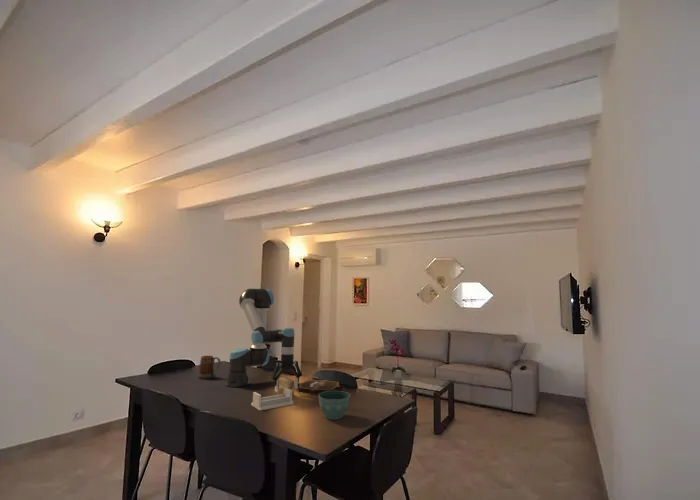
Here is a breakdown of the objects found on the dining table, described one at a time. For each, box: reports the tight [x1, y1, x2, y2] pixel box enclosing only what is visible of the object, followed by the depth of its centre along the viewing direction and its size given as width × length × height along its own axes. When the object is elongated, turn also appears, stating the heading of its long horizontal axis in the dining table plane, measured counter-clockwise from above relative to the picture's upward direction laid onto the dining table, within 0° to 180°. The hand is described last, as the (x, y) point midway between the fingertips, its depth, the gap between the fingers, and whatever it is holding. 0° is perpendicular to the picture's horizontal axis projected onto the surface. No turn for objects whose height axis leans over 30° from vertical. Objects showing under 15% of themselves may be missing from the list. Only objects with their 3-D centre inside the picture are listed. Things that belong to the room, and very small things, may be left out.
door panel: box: [278, 376, 295, 399], centre depth 225 cm, size 4×12×10 cm, turn 37°
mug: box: [197, 355, 221, 380], centre depth 271 cm, size 16×11×15 cm
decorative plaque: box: [298, 379, 343, 396], centre depth 244 cm, size 30×3×30 cm
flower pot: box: [318, 390, 351, 421], centre depth 190 cm, size 16×16×11 cm
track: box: [250, 387, 295, 411], centre depth 208 cm, size 12×20×7 cm, turn 127°
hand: (286, 389), depth 225 cm, fingers open, 12 cm apart
